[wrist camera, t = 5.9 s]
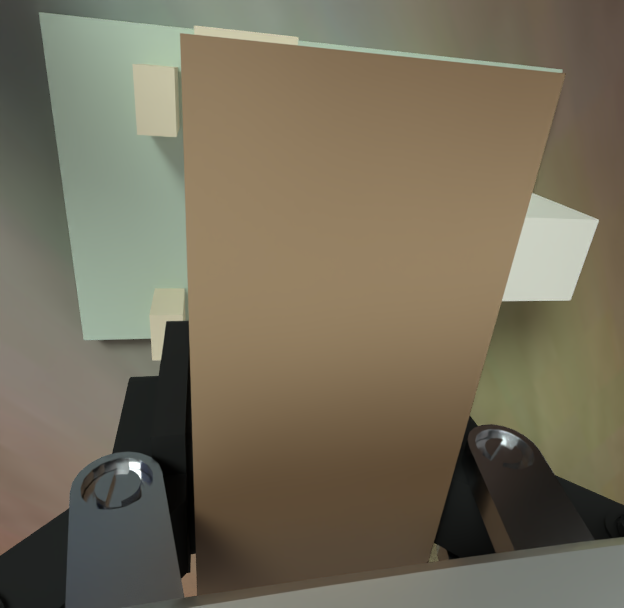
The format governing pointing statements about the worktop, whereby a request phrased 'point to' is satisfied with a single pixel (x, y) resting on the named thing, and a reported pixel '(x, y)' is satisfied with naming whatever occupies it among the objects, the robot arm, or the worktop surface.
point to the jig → (132, 165)
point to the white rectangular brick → (549, 252)
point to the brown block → (341, 292)
